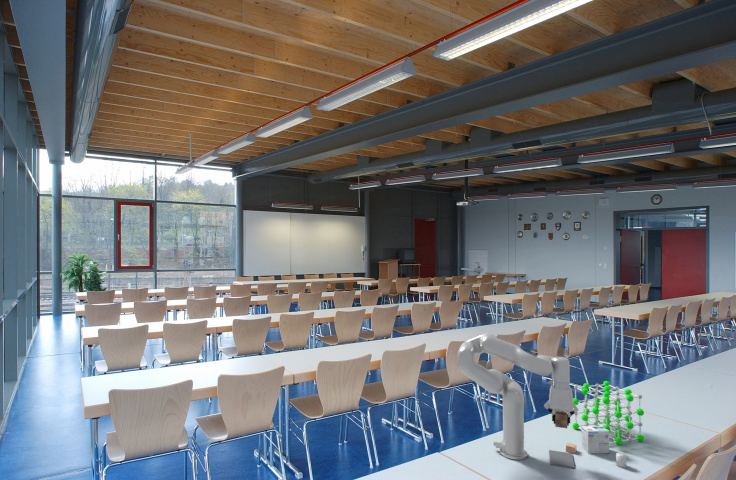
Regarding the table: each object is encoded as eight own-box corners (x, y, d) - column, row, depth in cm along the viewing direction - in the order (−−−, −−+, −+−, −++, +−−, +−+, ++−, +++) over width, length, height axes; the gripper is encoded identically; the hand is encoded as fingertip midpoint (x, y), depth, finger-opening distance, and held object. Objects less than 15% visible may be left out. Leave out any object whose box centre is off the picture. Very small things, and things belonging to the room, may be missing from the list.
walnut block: (555, 426, 204) (555, 413, 204) (555, 422, 209) (554, 409, 209) (567, 428, 202) (567, 415, 203) (566, 424, 207) (566, 411, 207)
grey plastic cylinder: (616, 467, 199) (616, 456, 199) (615, 463, 203) (615, 452, 203) (627, 468, 197) (627, 457, 197) (625, 464, 201) (625, 453, 201)
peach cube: (565, 451, 214) (565, 445, 214) (567, 448, 217) (567, 442, 217) (574, 454, 212) (574, 447, 212) (576, 450, 215) (576, 444, 215)
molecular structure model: (606, 448, 218) (606, 398, 218) (570, 428, 242) (570, 383, 242) (646, 442, 224) (645, 394, 225) (607, 423, 248) (606, 379, 249)
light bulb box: (602, 447, 219) (602, 425, 219) (610, 453, 212) (609, 430, 212) (580, 447, 218) (580, 425, 219) (588, 453, 212) (588, 431, 212)
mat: (550, 464, 201) (550, 463, 201) (549, 451, 214) (549, 449, 214) (574, 468, 197) (574, 467, 197) (571, 455, 210) (571, 453, 210)
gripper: (541, 384, 205) (541, 424, 205) (581, 388, 199) (582, 429, 199) (541, 380, 213) (541, 418, 212) (580, 384, 207) (580, 423, 206)
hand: (561, 423), depth 206 cm, fingers closed on walnut block, 5 cm apart
